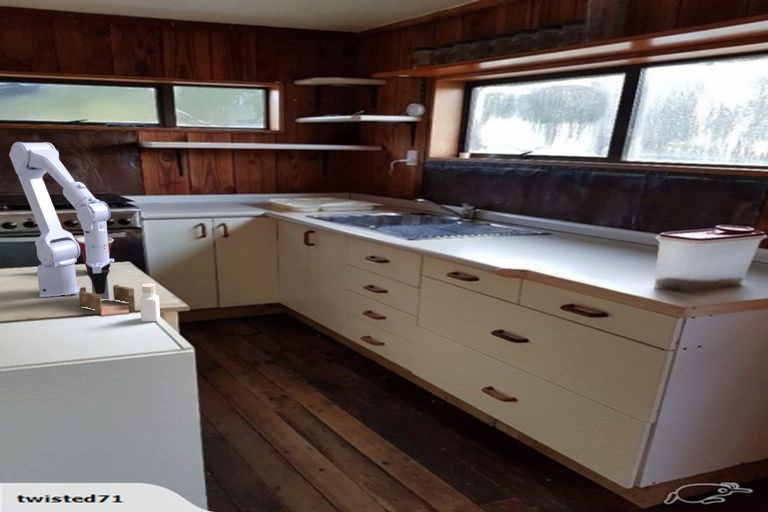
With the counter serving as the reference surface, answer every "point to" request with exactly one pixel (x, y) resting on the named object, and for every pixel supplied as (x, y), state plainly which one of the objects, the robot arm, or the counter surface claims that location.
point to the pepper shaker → (149, 303)
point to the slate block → (106, 294)
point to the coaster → (115, 310)
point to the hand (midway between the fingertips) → (100, 291)
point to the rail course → (96, 303)
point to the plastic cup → (83, 250)
